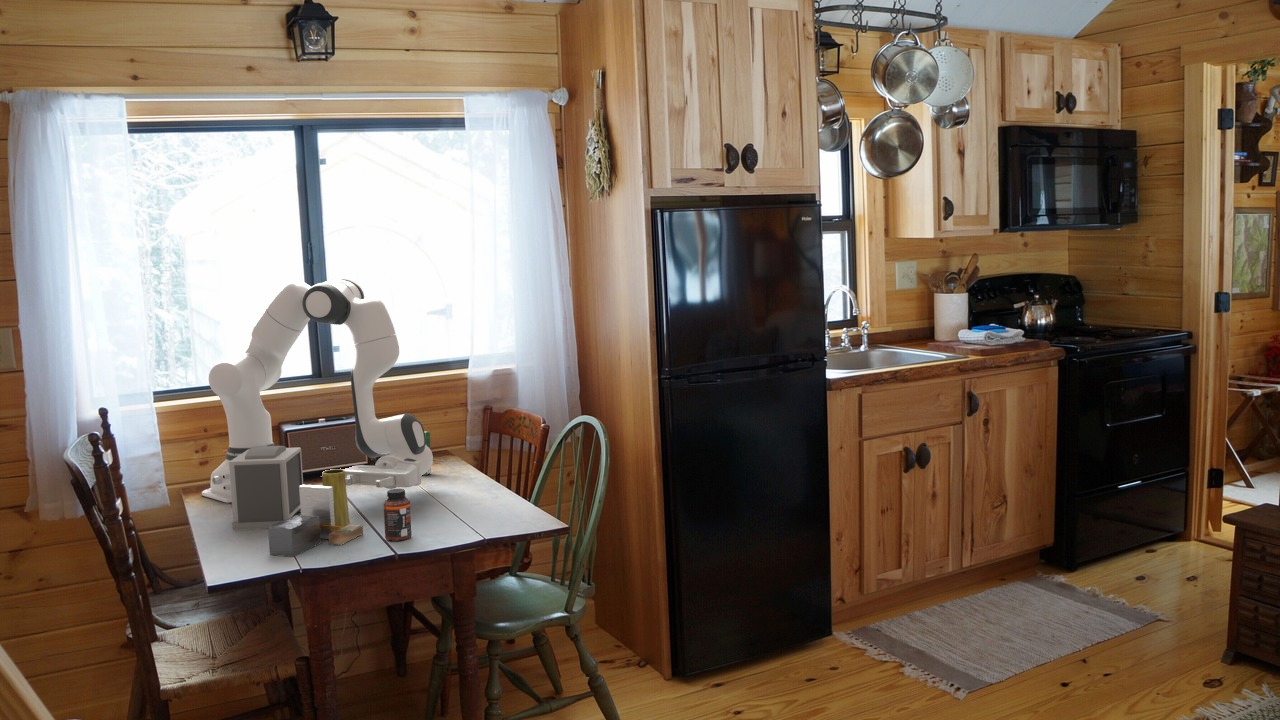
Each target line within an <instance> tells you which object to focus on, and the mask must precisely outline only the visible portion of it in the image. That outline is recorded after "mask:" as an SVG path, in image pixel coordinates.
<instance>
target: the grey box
mask: <svg viewBox="0 0 1280 720" xmlns="http://www.w3.org/2000/svg"><path fill="white" fill-rule="evenodd" d="M229 470H230V483H231V497H232V502H231V508H232V520H233V522H232V530H234V531H241V530H242V531H243V530H265V529H267V528H268V527H270V526H272V525H274V524H277V523H279V522H282V521H284V520H286V519H289V518H291V517H293V516H295V514H297V513H298V512H301V508H300V492H299V486H301V485H304V477H303V476H304V475H303V461H302V448H301V447H299V446H298V447H286V446H285V445H274V446H262V447H252V448H251V449H248V450H247V451H245V452H243V453H242V454H240V455H239V456H237V457H236V458H234V459H233V460H231V461H229ZM298 514H299V513H298ZM267 530H268V529H267Z"/></svg>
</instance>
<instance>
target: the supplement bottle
mask: <svg viewBox="0 0 1280 720" xmlns="http://www.w3.org/2000/svg"><path fill="white" fill-rule="evenodd" d="M386 497H387V498H386V499H385V500H384V502H383V521H384V522H383V523H384V535H385V539H386V540H387V541H389V540H392V541H391V542H399V540H402V541H406V540H408V539H410V538H411V537H412V518H411V502H410V499H409V498H407V496H406V490H405V489H404V488H394V489H387V492H386Z"/></svg>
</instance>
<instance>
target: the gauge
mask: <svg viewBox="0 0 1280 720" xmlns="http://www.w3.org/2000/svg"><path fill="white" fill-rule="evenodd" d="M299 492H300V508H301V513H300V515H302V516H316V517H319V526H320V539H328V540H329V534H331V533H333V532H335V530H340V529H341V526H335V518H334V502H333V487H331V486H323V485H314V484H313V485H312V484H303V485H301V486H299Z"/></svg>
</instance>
